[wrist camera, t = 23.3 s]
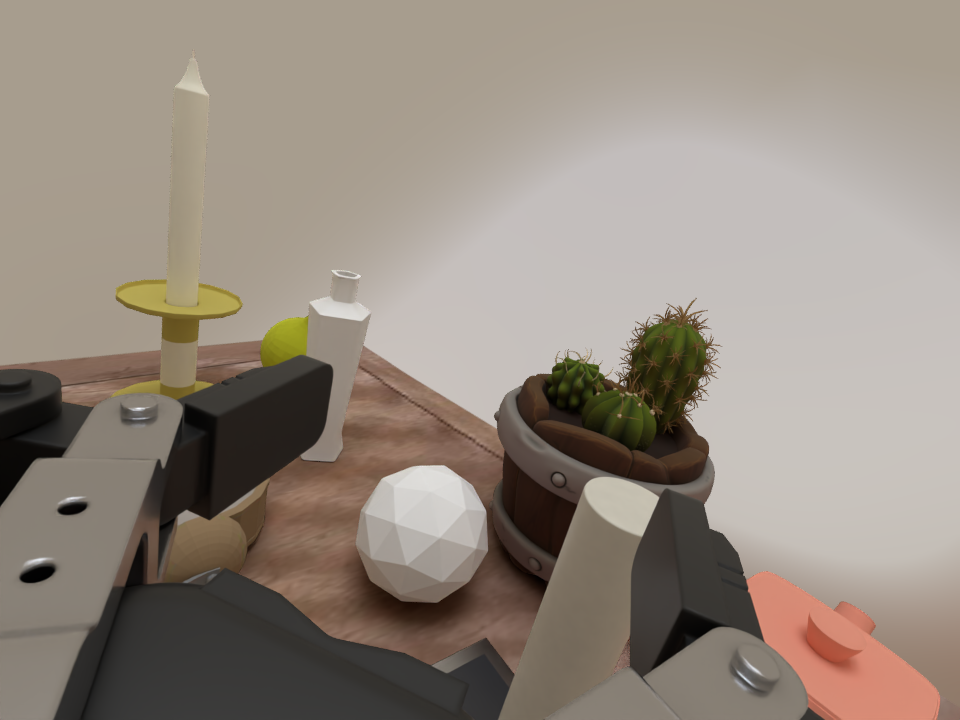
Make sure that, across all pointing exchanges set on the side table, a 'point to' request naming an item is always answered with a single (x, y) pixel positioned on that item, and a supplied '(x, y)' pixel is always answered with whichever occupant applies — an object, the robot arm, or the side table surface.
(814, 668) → the teapot
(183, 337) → the candle
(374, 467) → the side table surface
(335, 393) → the perfume bottle
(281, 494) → the side table surface
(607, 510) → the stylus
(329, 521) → the side table surface
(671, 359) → the flowerpot
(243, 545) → the alarm clock
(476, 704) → the tablet
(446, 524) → the geometric ball
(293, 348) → the ornament
